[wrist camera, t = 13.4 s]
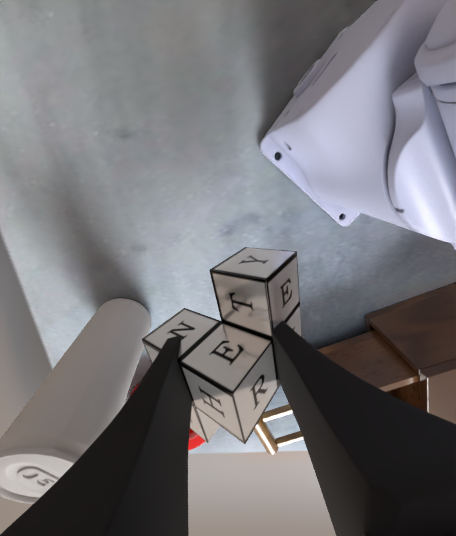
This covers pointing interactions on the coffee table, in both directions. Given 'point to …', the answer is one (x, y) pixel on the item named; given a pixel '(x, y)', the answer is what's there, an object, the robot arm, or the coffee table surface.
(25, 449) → the beverage can
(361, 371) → the drawer
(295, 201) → the coffee table surface
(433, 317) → the cabinet
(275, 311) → the building blocks
